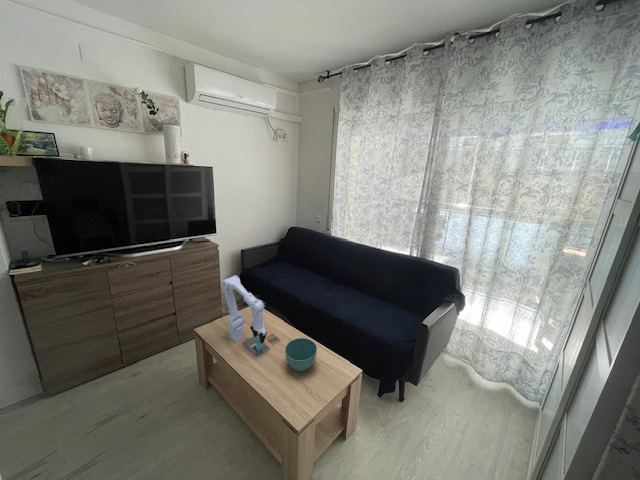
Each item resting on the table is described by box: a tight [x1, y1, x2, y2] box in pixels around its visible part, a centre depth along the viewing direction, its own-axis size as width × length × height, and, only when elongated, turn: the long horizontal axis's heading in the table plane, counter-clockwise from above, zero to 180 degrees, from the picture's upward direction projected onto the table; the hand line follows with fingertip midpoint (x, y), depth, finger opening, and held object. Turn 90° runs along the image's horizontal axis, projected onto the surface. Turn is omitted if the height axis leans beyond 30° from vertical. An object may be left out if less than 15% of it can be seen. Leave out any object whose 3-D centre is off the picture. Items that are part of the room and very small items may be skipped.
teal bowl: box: [284, 337, 318, 372], centre depth 142 cm, size 18×18×12 cm
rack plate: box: [241, 335, 271, 358], centre depth 156 cm, size 17×10×3 cm, turn 45°
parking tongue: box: [265, 333, 282, 347], centre depth 163 cm, size 10×7×2 cm
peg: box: [255, 339, 264, 353], centre depth 153 cm, size 4×4×8 cm
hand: (259, 339), depth 151 cm, fingers open, 7 cm apart
